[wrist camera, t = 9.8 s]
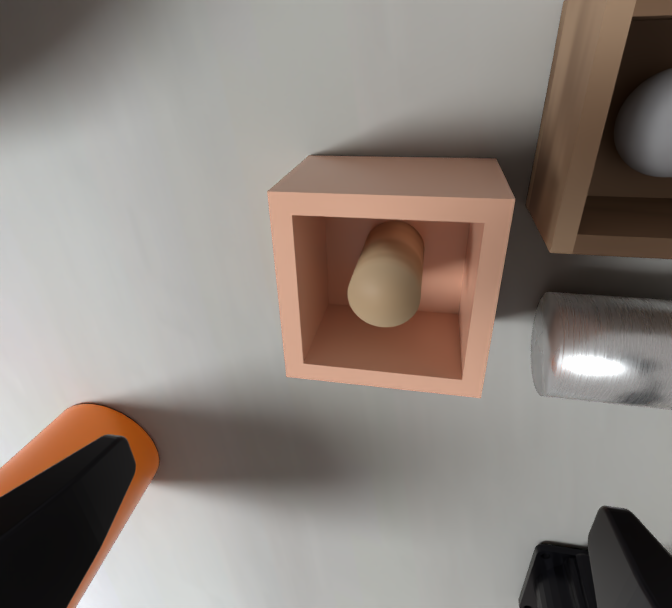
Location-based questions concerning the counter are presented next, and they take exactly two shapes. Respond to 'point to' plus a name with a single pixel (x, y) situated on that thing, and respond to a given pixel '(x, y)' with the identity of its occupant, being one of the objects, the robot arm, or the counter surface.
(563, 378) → the lying can
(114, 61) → the counter surface
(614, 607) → the robot arm
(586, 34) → the walnut box
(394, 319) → the wooden peg
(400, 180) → the terracotta box
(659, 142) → the grey ball
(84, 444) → the shaker bottle
